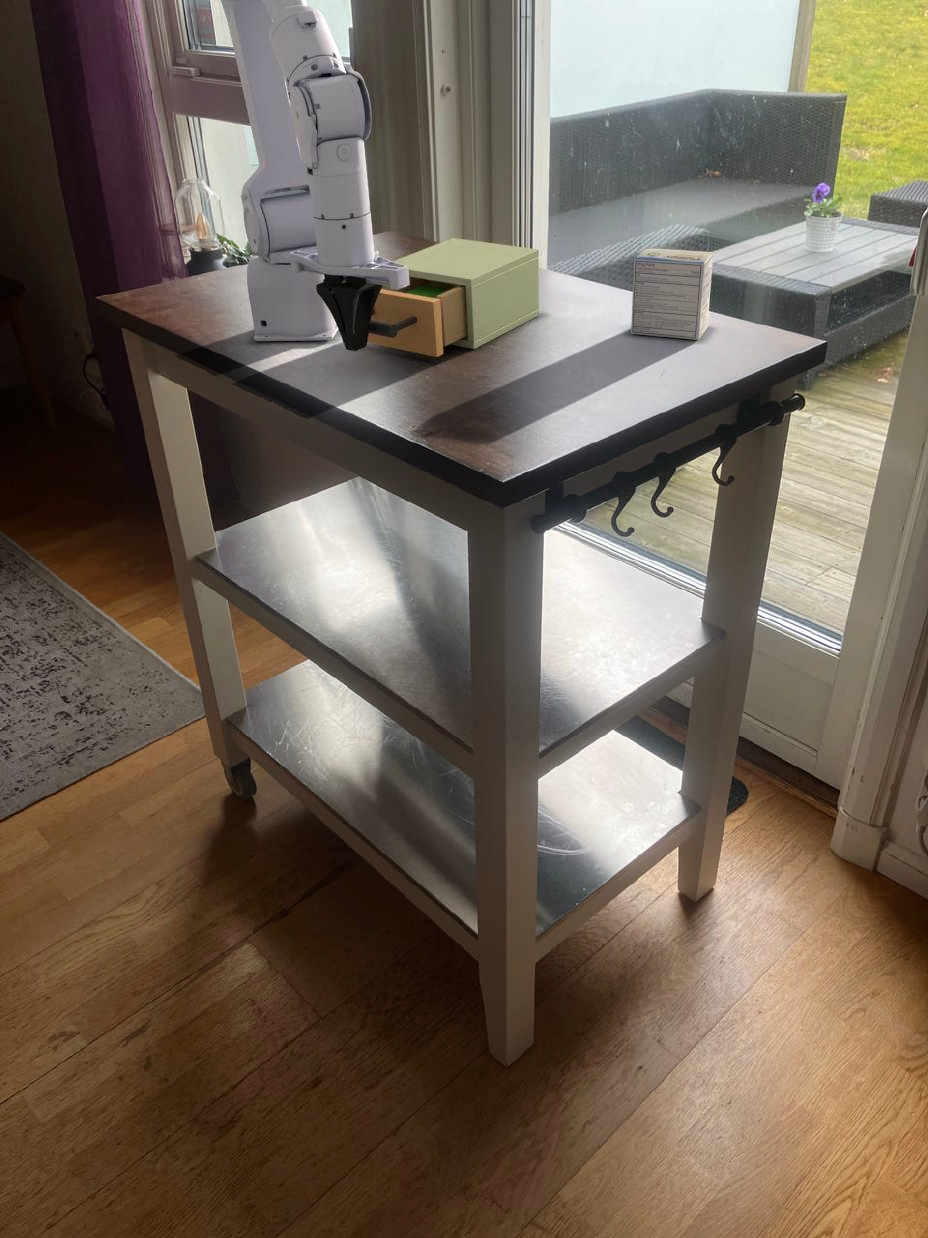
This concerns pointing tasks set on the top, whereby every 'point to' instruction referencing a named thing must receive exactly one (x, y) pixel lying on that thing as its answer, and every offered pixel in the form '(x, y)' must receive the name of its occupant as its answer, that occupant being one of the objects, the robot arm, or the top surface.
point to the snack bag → (428, 291)
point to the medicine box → (671, 293)
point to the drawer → (419, 318)
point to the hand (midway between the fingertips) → (356, 347)
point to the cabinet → (484, 283)
